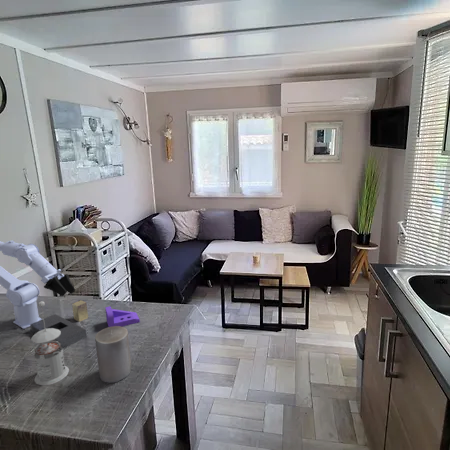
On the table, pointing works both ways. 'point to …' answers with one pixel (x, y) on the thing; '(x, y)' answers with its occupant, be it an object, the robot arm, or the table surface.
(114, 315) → the bracket
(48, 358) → the french press
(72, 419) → the table surface
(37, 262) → the robot arm
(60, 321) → the dark grey slotted block
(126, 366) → the pillar candle
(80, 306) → the brass peg
